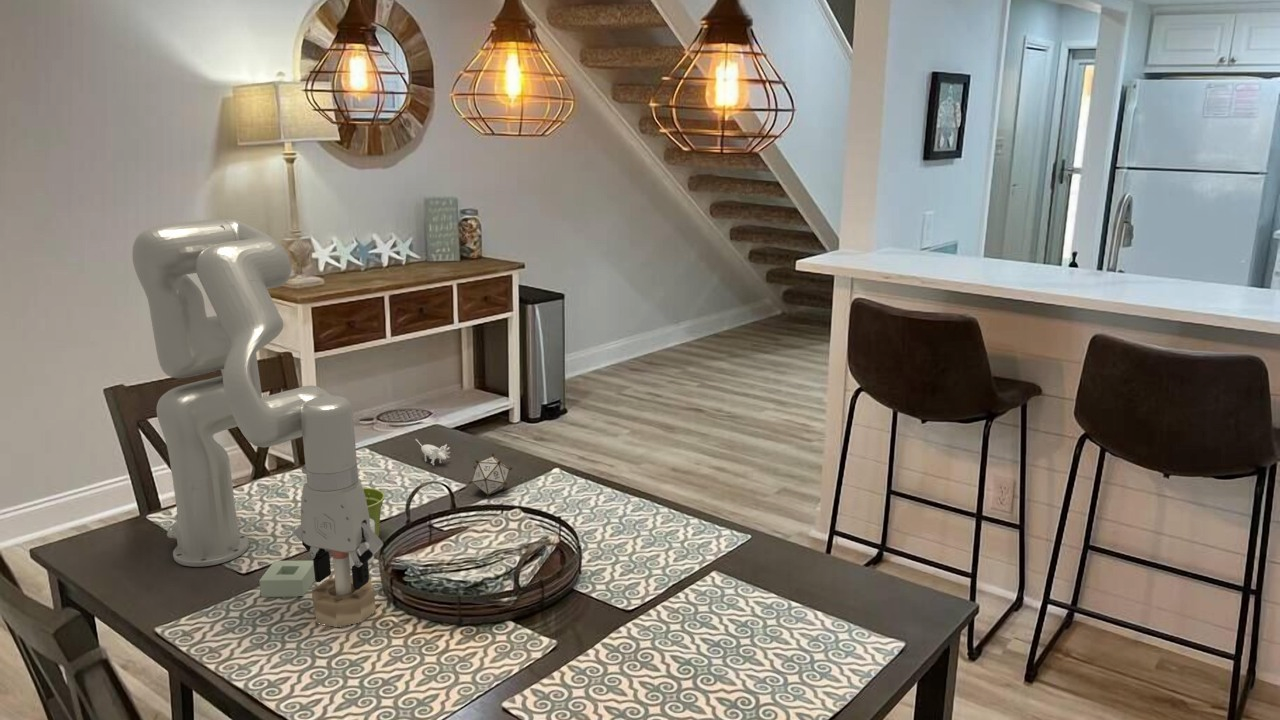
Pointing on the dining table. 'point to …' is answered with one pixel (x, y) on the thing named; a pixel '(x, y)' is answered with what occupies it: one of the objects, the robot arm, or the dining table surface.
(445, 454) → the white triceratops figurine
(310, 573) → the green square-hole block
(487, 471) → the game die
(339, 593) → the red-capped white cylinder
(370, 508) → the plant pot
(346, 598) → the bead
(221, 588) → the dining table surface
